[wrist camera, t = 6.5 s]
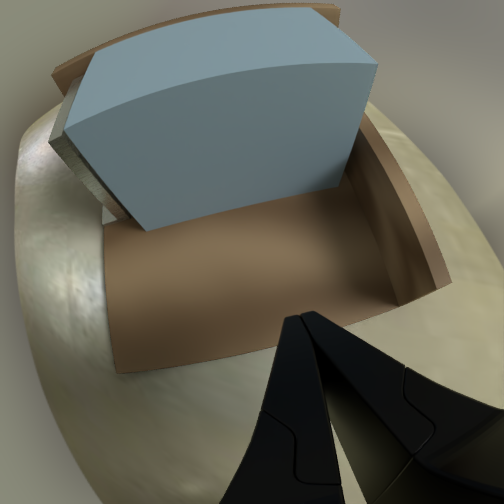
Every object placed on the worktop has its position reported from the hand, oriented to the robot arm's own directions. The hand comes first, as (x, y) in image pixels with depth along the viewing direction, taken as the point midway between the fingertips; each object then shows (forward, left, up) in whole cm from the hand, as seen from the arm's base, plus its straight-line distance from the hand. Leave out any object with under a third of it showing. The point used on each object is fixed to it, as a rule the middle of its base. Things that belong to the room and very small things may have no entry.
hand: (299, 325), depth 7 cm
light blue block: (+11, 0, -6) cm, 13 cm away
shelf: (+8, +1, -7) cm, 10 cm away
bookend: (+12, +8, -6) cm, 16 cm away
